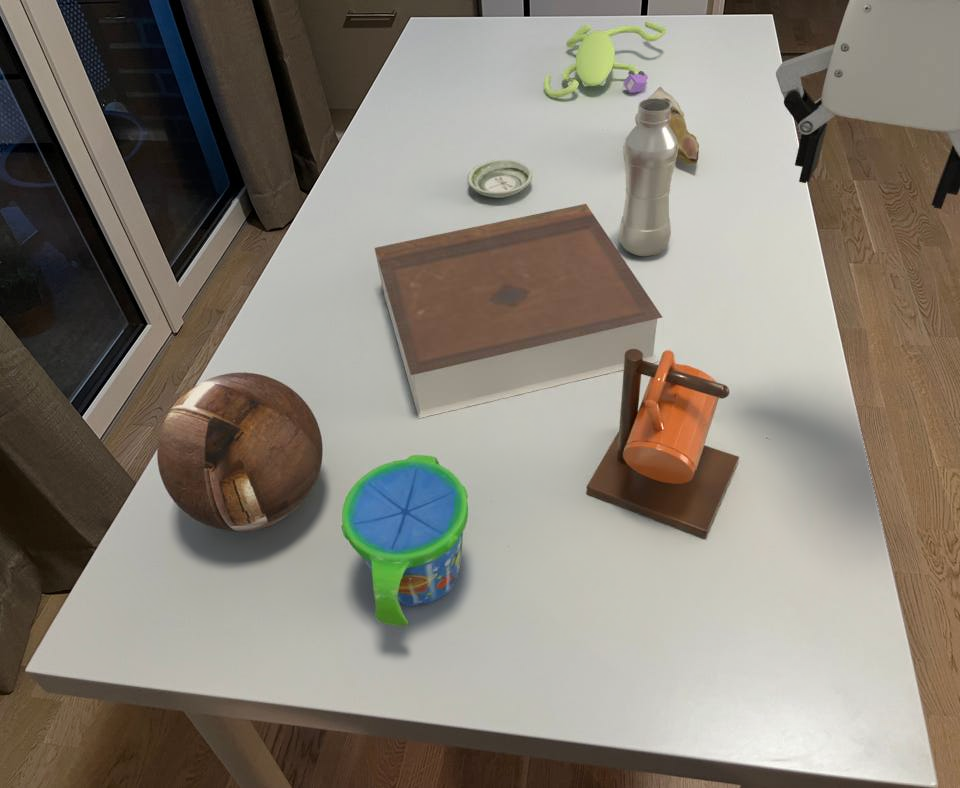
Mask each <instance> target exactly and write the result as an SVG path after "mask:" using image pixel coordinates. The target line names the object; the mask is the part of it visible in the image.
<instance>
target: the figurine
mask: <svg viewBox="0 0 960 788" xmlns="http://www.w3.org/2000/svg"><path fill="white" fill-rule="evenodd" d="M644 26H645V27H646V28H647V29H650V30H652V31H655V32H657V34H650V33H648V32H646V31H645V30H644V29H643V28H642V27H640V26H637V25H623V26H617V27H614V28H610V29H607V30H604V31H603V30H600V29H599V30H598V29H595V30H592V27H591V25H590V24H584V25H582V26H581V27H579V28H578V30H576V31H575V33H574V34H573V35H572V37H571V38H569V39H568V40H567V41H566V43H565V44H566V47H567V48H575V47H576V45H577V44H578V43H579V46H578V48H577V52H576V54H575V63H572V64H571V65H569V66H568V67H566V68H565V70H564V71H563V73H562V74H561V79H562V80H563V81H566V82H572V83H570V85H568V86H567V87H565V88H562V89H561V90H553V89H552V88H551V87H550V84H551V80H552V77H551V75H549V74H548V75H546V76H545V77H544V81H543V89H544V92H545V94H546V95H547V96H549V98H553V99H558V98H563V97H565V96H568V95H570V94H572V93H573V92H575V91H576V90H577V88H579V85H580V83H579V81H578V80H576V79H574V78H569V77H570V75H571V74H573V72H575V71H576V74H577V75H578V77H579V79H580V81H581V83H582V86H584V88H587V87H595V86H601V87H605V86H606V83H607V78H608V76H609V75H610V73H611V71H612V69H613V70H625V71H628V73H627V74H628V76H627V77H626V79H625V80H624V81H623V82H622V85H623V86H624V88H625V89H626V90H627V91H628V92H629V93H630V94H632V93H633V94H634V93H641V92H642V91H643V90H644V89H645V87H646V86H647V84H648V81H647V80H648V78H649V77H648V74H647V73H645V72H644V71H643V70H639V69H638V68H637V67H636V66H635V65H633V64H627V63H622V62H616V61H615V56H616V54H615V53H616V50H615V46H614V41H613V40H612V38H611V37H613V36H616V35H620V34H637V35H639V36H640V37H641V38H642V39H643V40H645V41H646V42H650V43H651V42H656V41H659V40H660V39H661V38H662V37H663V36H664V35H665V34H666V33H667V28H666V27H665V26H662V25H658V24H656V23H654V22H651V21H650V20H646V21H645V22H644ZM591 30H592V31H591Z"/></svg>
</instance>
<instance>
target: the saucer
mask: <svg viewBox="0 0 960 788" xmlns="http://www.w3.org/2000/svg"><path fill="white" fill-rule="evenodd" d="M532 179H533V172H532V169H531V168H530V167H529V166H528V165H527V164H525V163H524V162H521V161H519V160H515V159H509V158H508V159H506V158H500V159H498V158H497V159H491V160H487V161H485V162H482V163H479V164H478V165H476V166H474V167H473V168H472V169H470V171H469V172H468V175H467V183H468V186H469V187H470V188H471V189H472V190H473V191H474V192H476V193H478V194H480V195H482V196H485V197H489V198H494V199H503V198H508V197H510V196H514V195H516V194H518V193H520V192H521V191H523V190H524V189H525V188H526V187H527V186H528V185H529V184H530V183H531V182H532Z"/></svg>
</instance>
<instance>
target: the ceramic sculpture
mask: <svg viewBox="0 0 960 788" xmlns="http://www.w3.org/2000/svg"><path fill="white" fill-rule="evenodd" d="M650 98H660V99H664V100H667V101H669V102H670V104H671V111H670V115H671V118H670V122H669V123H668V125H669V127H670V128H671V129H672V131H673V132H674V134H675V136H676V138H677V142H678V146H679V148H678V154H677V159H678V160H679V161H681V162H683V163H685V164H691V165H696V164H698V160H699V153H700V151H699V150H700V144H699V142H698V139H697V137H696V136H695V135H694V134H693V133H690V132H689V131H688V128H687V123H686V119H685V113H684V112H683V110H682V108H681V106H680V104H679V102H677V100H676V98H674V97H673V95H671V94H670V93H668V92H667V91H665V89H663V87H662V86H659V87H658V88H657V89H656V90H655V91H654V92H653V93H652V94H651V95H650V96H649V97H647V99H650ZM637 114H638V112H637V113H636V114H635V117H634V119H635V126H636V125H637V124H638V122H637V120H636V118H637Z"/></svg>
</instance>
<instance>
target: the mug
mask: <svg viewBox="0 0 960 788" xmlns="http://www.w3.org/2000/svg"><path fill="white" fill-rule="evenodd" d="M657 365H658V368H657V370H656V373H655V376H654V378H652V377H650V378H649V381H648V383H647V386H646V389H645V390H644V395H643V398H642V399H641V402H640V405H639V406H638V413H637V416H636V418H635V421H634V424H633V426H632V429H631V432H630V435H629V437H628V440H627V443H626V445H625V448H624V452H623V458H624V460H625V462H626V463H627V464H628V465H629V466H630V467H631V468H632V469H634V470H635V471H637V472H638V473H640V474H642V475H644V476H646V477H649V478H651V479H654V480H657V481H661V482H665V483H672V484H681V483H686V482H689V481H691V480H692V478H693V476H694V473H695V471H696V469H697V466H698V463H699V460H700V456H701V453H702V450H703V447H704V445H705V443H706V440H707V438H708V435H709V431H710V429H711V426H712V422H713V418H714V415H715V412H716V409H717V406H718V403H719V400H720V398H718V397H714V396H711V395H708V394H705V393H701V392H698V391H695V390H692V389H688V388H685V387H682V386H678V385H675V384H672V383H669V382H665V380H666V378H667V375H668V372H669V369H673V370H677V371H680V372H683V373H687V374H690V375H694V376H697V377H700V378H704V379H707V380H710V381H714V382H717V381H716V380H715V379H714V377H713V376H711V375H709V374H707V373H706V372H704V371H703V370H701V369H698V368H695V367H693V366H690V365H687V364H679V363H677V362H676V357H675V354H674V352H673V351H672V350H669V349H666V350H664V351H663V352H662V355H661V356H660V360H659V363H658V364H657Z"/></svg>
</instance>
